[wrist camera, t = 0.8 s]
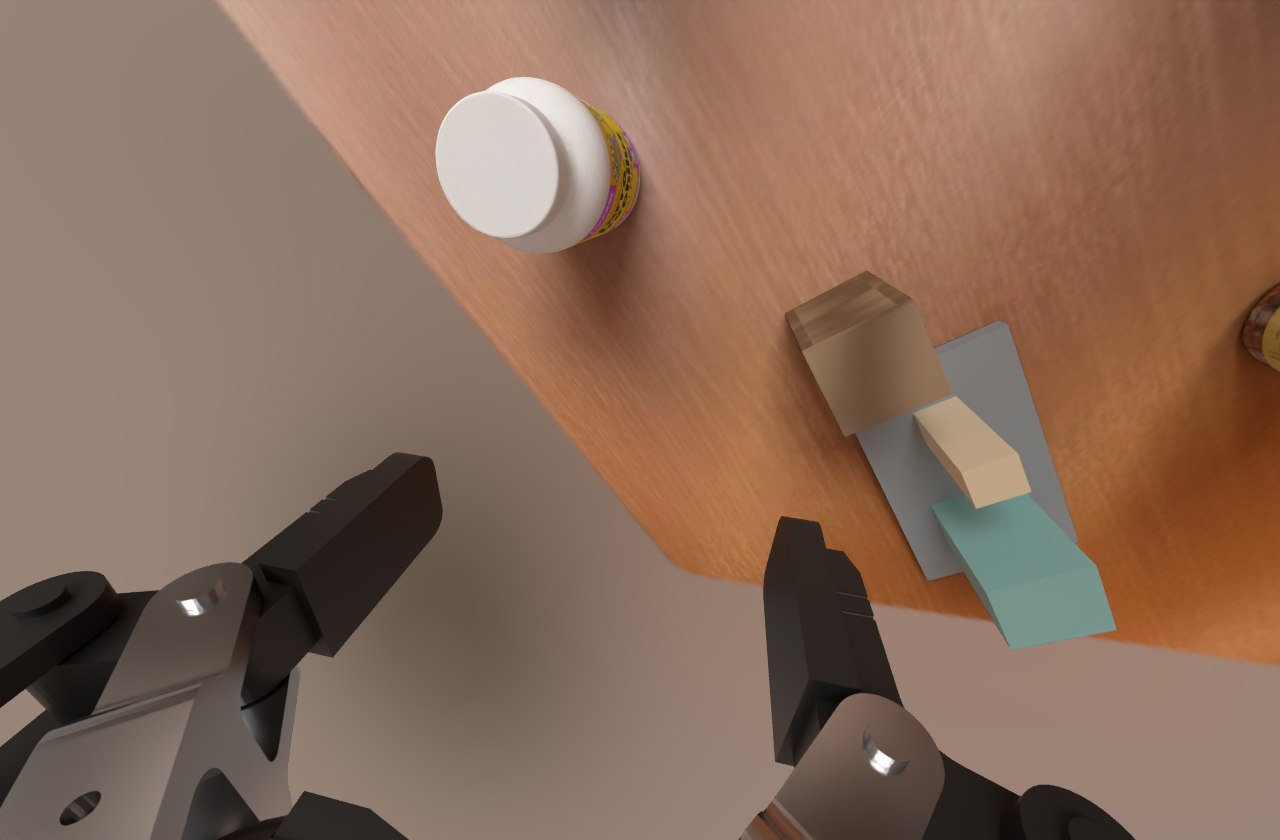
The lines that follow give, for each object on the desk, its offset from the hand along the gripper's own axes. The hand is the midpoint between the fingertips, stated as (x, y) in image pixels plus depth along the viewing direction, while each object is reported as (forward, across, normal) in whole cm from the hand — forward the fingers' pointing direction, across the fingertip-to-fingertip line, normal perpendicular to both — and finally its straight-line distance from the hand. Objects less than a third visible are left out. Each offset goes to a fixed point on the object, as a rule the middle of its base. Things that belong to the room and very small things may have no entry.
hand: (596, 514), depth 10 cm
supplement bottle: (+23, +7, -6) cm, 24 cm away
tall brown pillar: (+22, -10, +1) cm, 25 cm away
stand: (+22, -20, +10) cm, 32 cm away
